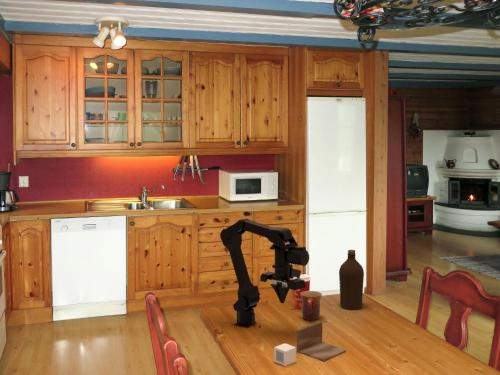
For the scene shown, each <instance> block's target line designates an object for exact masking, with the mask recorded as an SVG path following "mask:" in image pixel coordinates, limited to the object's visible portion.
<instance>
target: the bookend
mask: <svg viewBox="0 0 500 375" xmlns="http://www.w3.org/2000/svg"><path fill="white" fill-rule="evenodd" d="M296 353H299V354H301V355H305V356H308V357H309V358H313V359H315V360H318V361H320V362H323V363H325V362H327V361H329V360H331V359H333V358H336V357H337V356H338V357H339V356H340V355H342V354H345V353H347V349H345V348H342V347H339V346H336V345H333V344H330V343H327V342H324V341H323V321H320V320H319V321H316V322H313V323H311V324H308V325H306V326H302V327H300V328H297V329H296Z"/></svg>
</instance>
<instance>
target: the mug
mask: <svg viewBox="0 0 500 375" xmlns="http://www.w3.org/2000/svg"><path fill="white" fill-rule="evenodd" d="M300 295H301V298H302V310H301V315H302V318H303V319H304V320H306V321H317V320H319V319H320V317H321V300H322V295H323V294H322V292H321V291H316V290H309V291H304V292H301V293H300Z"/></svg>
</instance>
